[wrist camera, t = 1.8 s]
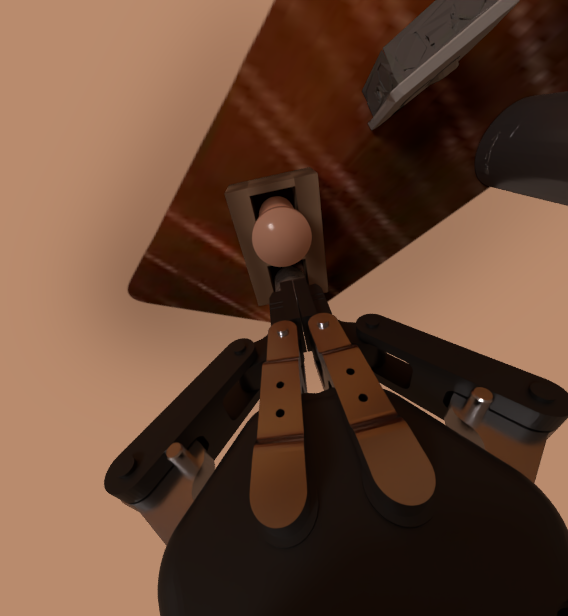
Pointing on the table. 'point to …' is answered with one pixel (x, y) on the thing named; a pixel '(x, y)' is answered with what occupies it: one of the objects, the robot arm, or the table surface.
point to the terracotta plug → (280, 233)
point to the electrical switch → (428, 51)
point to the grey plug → (287, 276)
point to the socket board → (246, 216)
